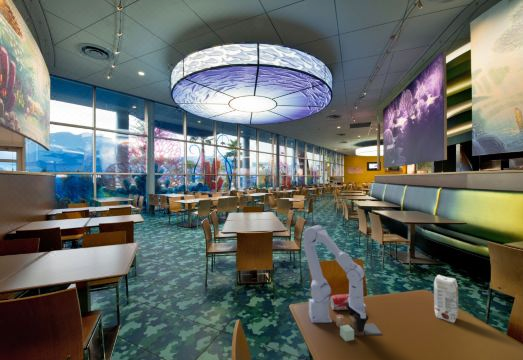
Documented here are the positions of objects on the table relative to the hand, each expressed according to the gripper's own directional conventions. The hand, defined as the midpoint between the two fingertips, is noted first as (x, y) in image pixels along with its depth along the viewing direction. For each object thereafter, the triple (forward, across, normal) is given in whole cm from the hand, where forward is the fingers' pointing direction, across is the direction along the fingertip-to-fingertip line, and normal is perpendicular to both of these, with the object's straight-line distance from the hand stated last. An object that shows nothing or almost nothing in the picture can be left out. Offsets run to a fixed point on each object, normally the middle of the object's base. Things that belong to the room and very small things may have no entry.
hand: (356, 325), depth 103 cm
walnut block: (+3, 0, 0) cm, 3 cm away
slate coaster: (+3, +2, -6) cm, 7 cm away
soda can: (-1, +20, -8) cm, 22 cm away
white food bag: (+3, +10, -47) cm, 49 cm away
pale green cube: (+3, -3, +6) cm, 7 cm away
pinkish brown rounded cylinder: (+3, +5, +6) cm, 8 cm away
